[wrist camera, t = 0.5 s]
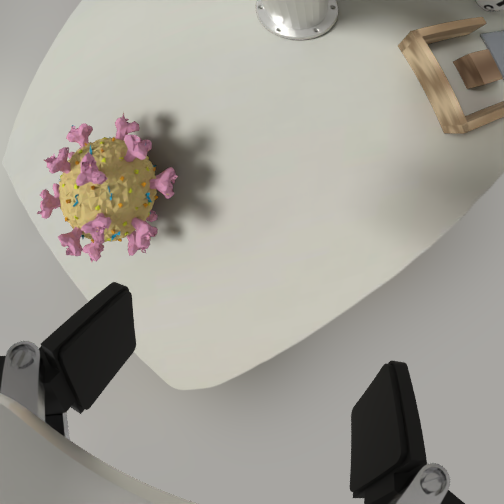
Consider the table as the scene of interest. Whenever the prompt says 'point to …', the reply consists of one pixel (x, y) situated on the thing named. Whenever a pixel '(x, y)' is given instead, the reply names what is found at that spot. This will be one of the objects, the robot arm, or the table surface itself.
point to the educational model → (106, 190)
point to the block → (477, 69)
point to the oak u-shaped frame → (436, 80)
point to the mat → (496, 48)
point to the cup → (491, 4)
